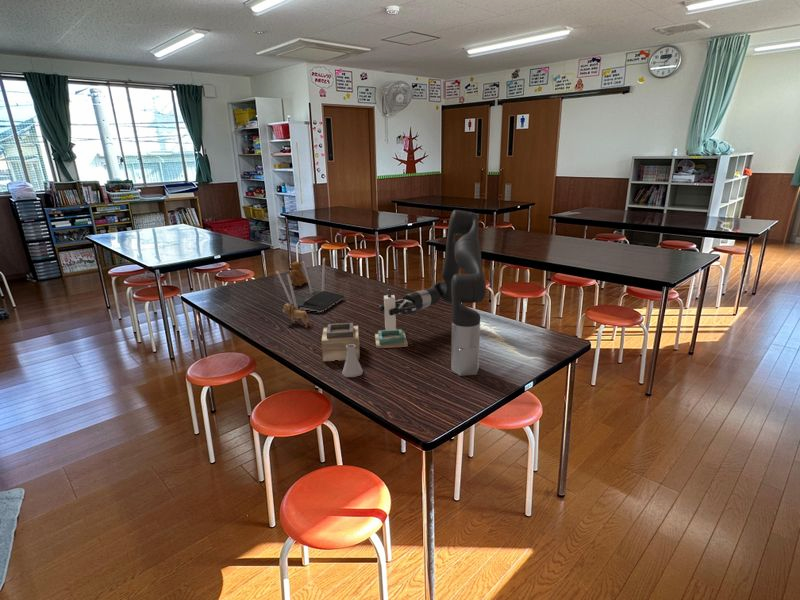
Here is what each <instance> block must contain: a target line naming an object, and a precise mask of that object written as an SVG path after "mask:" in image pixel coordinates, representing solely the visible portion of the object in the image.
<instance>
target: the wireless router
mask: <svg viewBox="0 0 800 600" xmlns="http://www.w3.org/2000/svg"><path fill="white" fill-rule="evenodd" d="M301 264H302V266H303V270H304V275H305V277H306V279H307V281H308V283H307V284H308V285H307V286H308V287H309V292H310V294H307V295H306V296H304V297H302V298H301V299H299V300H297V299H296V296H295V291H294V288H293V287H294V286H293V285H292V283H291V279H290V275H289V274H290V273H286V276H287V282H288V285H289V289H290V290H289V291H290V293H289V291H288V288H287V286H286V285H285V282H284V280H283V278H282V276H281V273H280V272H279V271H278V270H276V271H275V272H276V275H277V276H278V279H279V282H280V284H281V286H282V287H283V290H284V292H285V294H286V297H287V299H288V302H289V304H291V305H293V306H295V307H296V309H297V310H298V309H304V310H310V311H317V312H316V313H320V312H321V313H323V312H324V310H325V311H326V310H328V309H329V308H330V307H333V306H334V305H336V304H337V303H339V302H340V301H342V299H343V298H345V296H344V295H343V294H338V293H333V292H328V291H325V285H326V284H325V282H326V281H325V279H326V278H325V276H326V275H325V274H326V257H323V258H322V269H321V271H322V273H321V276H322V277H321V291H319V290H316V291H313V290H314V289H313V287H312V285H311V284H312V283H311V281H310V277H309V274H308V271H307V270H308V269H307V266H306V262H305V261H304V260H301ZM290 294H291V296H290ZM335 303H336V304H335ZM332 305H333V306H332ZM327 308H328V309H327ZM310 311H309V312H310ZM322 311H323V312H322Z"/></svg>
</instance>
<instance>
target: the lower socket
mask: <svg viewBox="0 0 800 600" xmlns="http://www.w3.org/2000/svg"><path fill="white" fill-rule="evenodd" d="M374 338H375V345H376V346H375V347H376V349H387V348H389V349H391V348H402V347H409V346H408V345H409V342H408V339H407V337H406V332H404V331H403V330H402V328H398V329H397V328H396V330H389V331H386V329H380V330H377V333H374Z"/></svg>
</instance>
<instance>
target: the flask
mask: <svg viewBox="0 0 800 600" xmlns="http://www.w3.org/2000/svg"><path fill="white" fill-rule="evenodd" d="M355 346H356V345H354V344H349V345H346V348H347V358H346V360H344V365H343V369H342V372H341V375H343V376H344V377H345V378H357V377H358V376H362V375H363V373H364V371H363V368H362V365H361V364H360V362H359V359H357V357H356V353H355Z"/></svg>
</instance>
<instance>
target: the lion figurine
mask: <svg viewBox="0 0 800 600" xmlns="http://www.w3.org/2000/svg"><path fill="white" fill-rule="evenodd" d="M281 310H282V312H283V314H285V315H287V316H288V317H289V318H290V320H291V323H292V322H294V321H297V322H298V319H300V321H302V323H304V326H305V325H306V326H307V327H308V326H314V323H312V322H310V320H309V316H308V313H307V311H301V310H297V309H296V307H295V306H293V305H291V304H290V303H285V304H284V305H283V309H281ZM294 323H295V322H294ZM307 323H308V324H309V325H308V324H307Z"/></svg>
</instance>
